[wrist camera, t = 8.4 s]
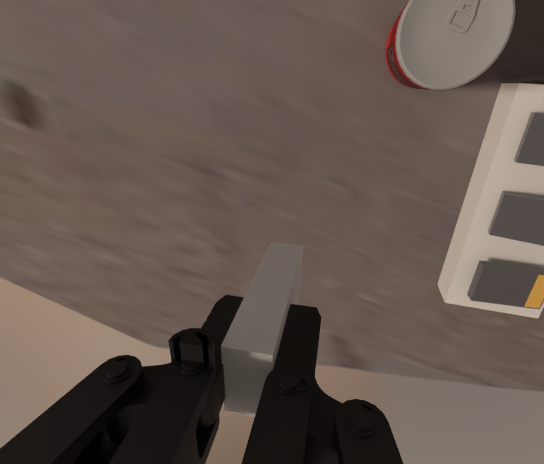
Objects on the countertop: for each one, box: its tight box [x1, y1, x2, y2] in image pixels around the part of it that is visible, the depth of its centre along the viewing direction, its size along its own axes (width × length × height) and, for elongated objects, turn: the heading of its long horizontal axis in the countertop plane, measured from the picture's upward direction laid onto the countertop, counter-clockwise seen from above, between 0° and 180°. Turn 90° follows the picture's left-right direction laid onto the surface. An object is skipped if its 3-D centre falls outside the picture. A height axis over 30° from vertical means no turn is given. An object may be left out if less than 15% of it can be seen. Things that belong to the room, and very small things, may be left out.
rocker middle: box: [488, 191, 544, 246], centre depth 32 cm, size 4×7×1 cm, turn 87°
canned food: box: [385, 0, 515, 90], centre depth 29 cm, size 8×8×11 cm
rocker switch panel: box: [437, 83, 544, 318], centre depth 34 cm, size 30×10×4 cm, turn 177°
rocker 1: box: [467, 260, 544, 310], centre depth 36 cm, size 4×7×1 cm, turn 87°
